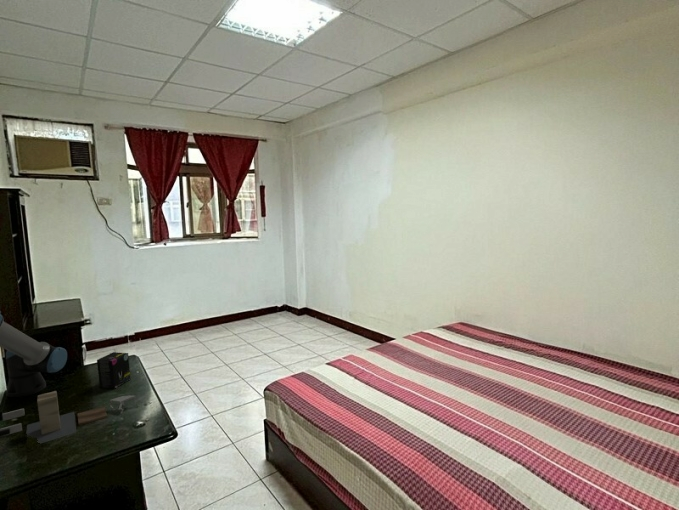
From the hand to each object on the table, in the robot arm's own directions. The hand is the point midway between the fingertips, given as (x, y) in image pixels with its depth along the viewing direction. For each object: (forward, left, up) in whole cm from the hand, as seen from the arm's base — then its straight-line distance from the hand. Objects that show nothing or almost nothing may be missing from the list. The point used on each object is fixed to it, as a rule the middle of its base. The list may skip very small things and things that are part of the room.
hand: (23, 418), depth 147 cm
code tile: (0, +8, -7) cm, 11 cm away
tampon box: (-30, +34, -8) cm, 46 cm away
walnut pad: (0, +22, -7) cm, 23 cm away
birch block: (0, +8, -7) cm, 11 cm away
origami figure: (+1, +35, -8) cm, 35 cm away
